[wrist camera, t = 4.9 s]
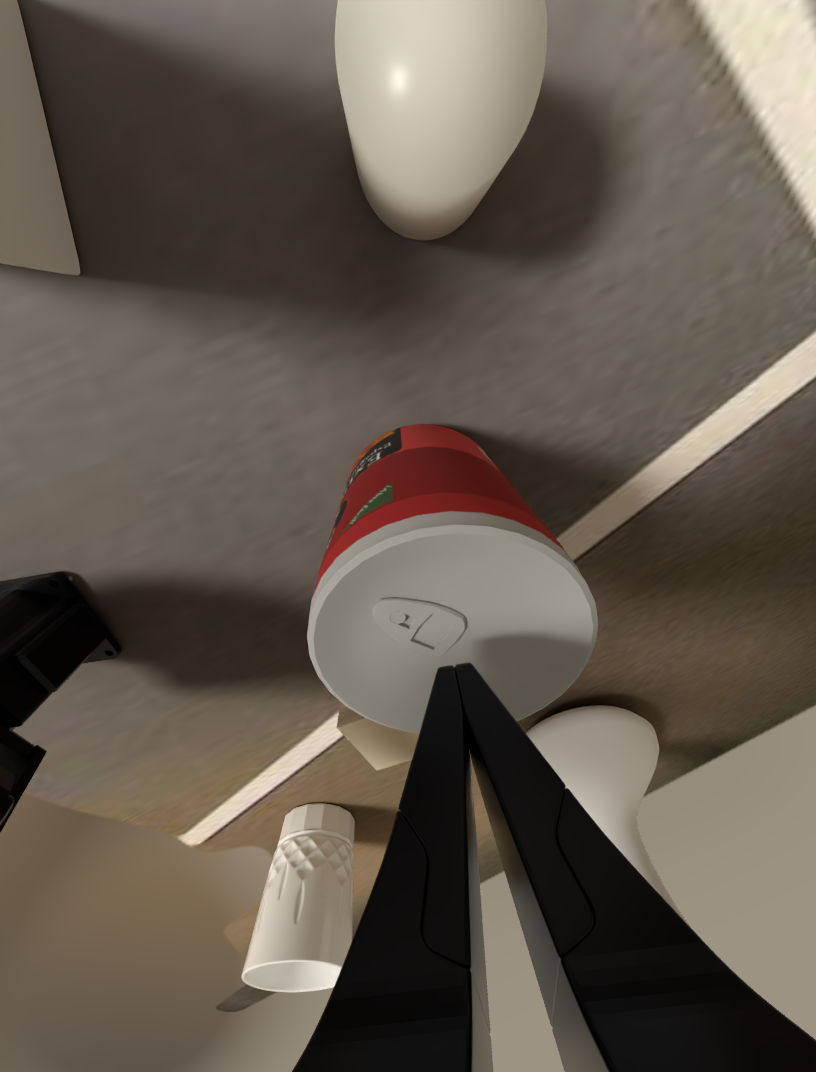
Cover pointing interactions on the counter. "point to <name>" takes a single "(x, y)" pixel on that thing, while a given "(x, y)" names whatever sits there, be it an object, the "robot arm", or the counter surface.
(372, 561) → the canned food
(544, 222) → the counter surface
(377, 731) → the birch block
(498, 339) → the counter surface
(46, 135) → the milk carton
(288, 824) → the white cup
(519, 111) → the off-white smooth rounded part
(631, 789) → the flower in vase
